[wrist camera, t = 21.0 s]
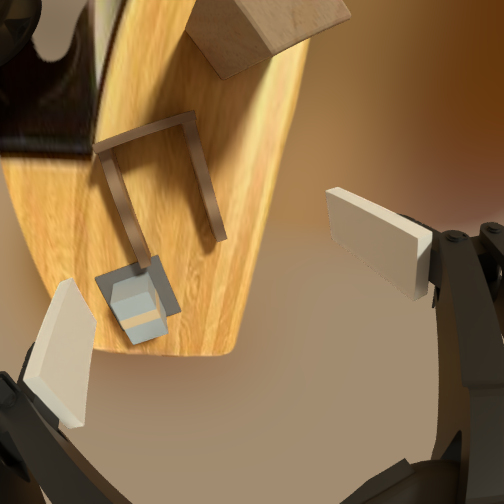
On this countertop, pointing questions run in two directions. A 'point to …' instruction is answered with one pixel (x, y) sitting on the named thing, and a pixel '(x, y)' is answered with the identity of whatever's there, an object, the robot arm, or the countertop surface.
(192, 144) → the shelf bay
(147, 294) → the block
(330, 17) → the wooden block
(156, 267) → the mat
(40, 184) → the countertop surface
